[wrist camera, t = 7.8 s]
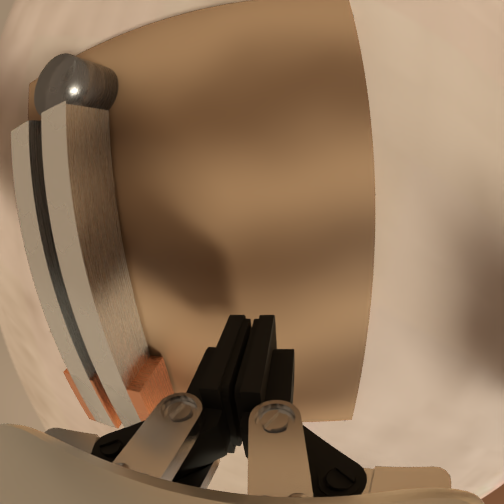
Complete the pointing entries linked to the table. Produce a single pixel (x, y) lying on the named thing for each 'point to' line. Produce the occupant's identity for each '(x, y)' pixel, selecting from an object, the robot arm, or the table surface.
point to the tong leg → (94, 232)
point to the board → (248, 186)
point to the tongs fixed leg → (53, 273)
